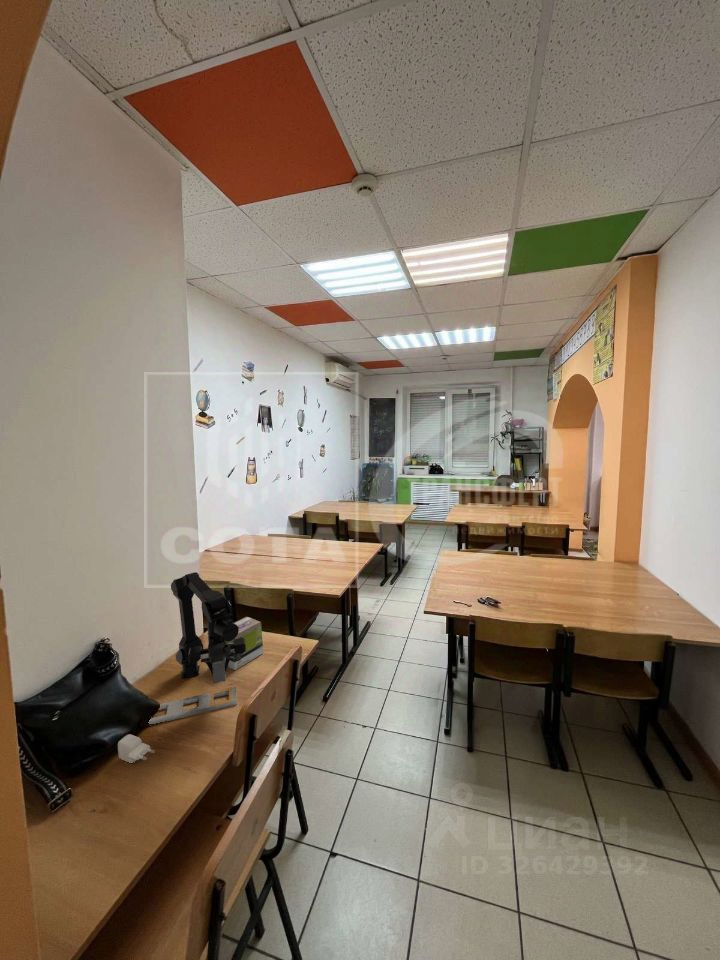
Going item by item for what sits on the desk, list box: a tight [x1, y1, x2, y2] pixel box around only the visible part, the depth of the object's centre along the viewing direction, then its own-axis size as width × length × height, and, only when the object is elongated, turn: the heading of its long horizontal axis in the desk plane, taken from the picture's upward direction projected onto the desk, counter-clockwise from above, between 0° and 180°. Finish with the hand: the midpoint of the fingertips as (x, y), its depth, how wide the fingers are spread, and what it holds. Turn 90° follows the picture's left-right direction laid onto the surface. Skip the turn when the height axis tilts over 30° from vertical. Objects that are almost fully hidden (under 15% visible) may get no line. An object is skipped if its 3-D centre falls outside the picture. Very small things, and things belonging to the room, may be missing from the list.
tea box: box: [225, 616, 264, 671], centre depth 160 cm, size 15×10×15 cm
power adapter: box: [117, 733, 155, 764], centre depth 110 cm, size 11×5×6 cm, turn 68°
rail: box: [148, 686, 237, 725], centre depth 132 cm, size 8×30×2 cm, turn 109°
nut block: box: [212, 659, 227, 684], centre depth 134 cm, size 4×4×7 cm
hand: (219, 672), depth 134 cm, fingers closed on nut block, 4 cm apart
